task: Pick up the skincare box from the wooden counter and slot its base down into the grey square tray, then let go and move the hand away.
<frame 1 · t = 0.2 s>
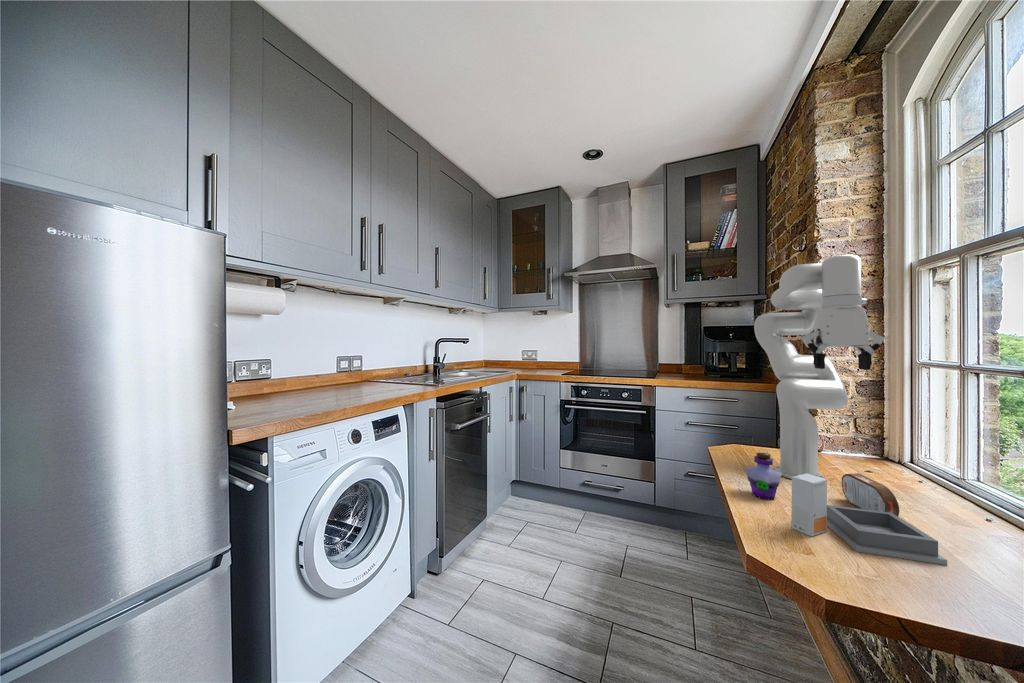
hand: (841, 369, 90), 36 cm above the table, tool pointing down, fingers open, 9 cm apart
grey square tray: (875, 539, 75), on the table
potion bottle: (763, 496, 97), on the table
skincare box: (809, 531, 79), on the table
tin: (867, 512, 89), on the table
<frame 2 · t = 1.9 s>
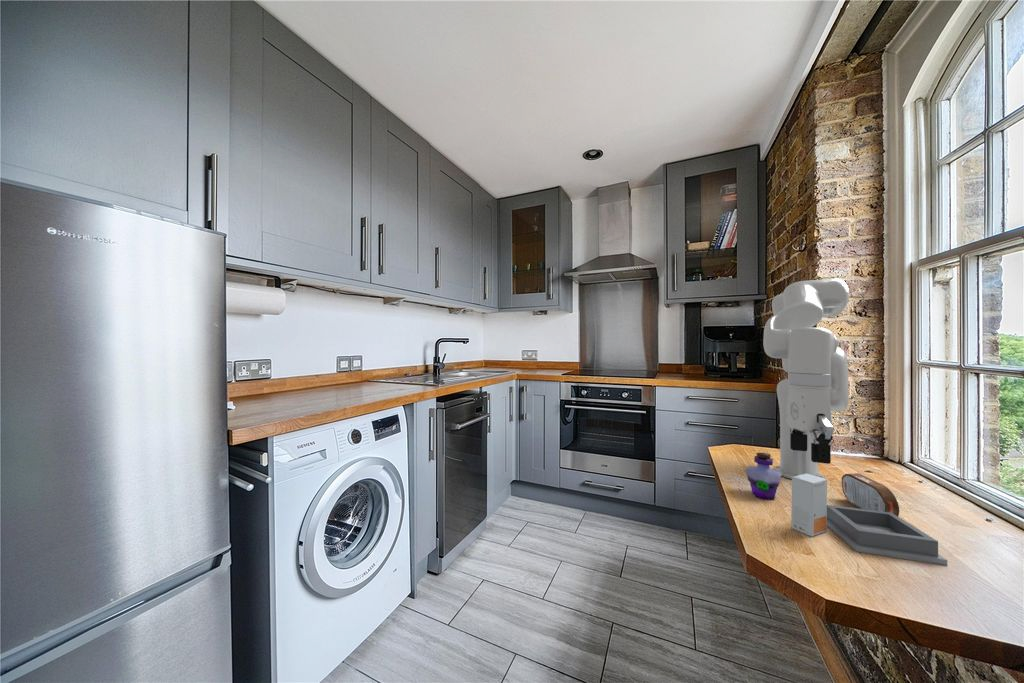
hand: (809, 456, 79), 17 cm above the table, tool pointing down, fingers open, 9 cm apart
nothing on the table moved.
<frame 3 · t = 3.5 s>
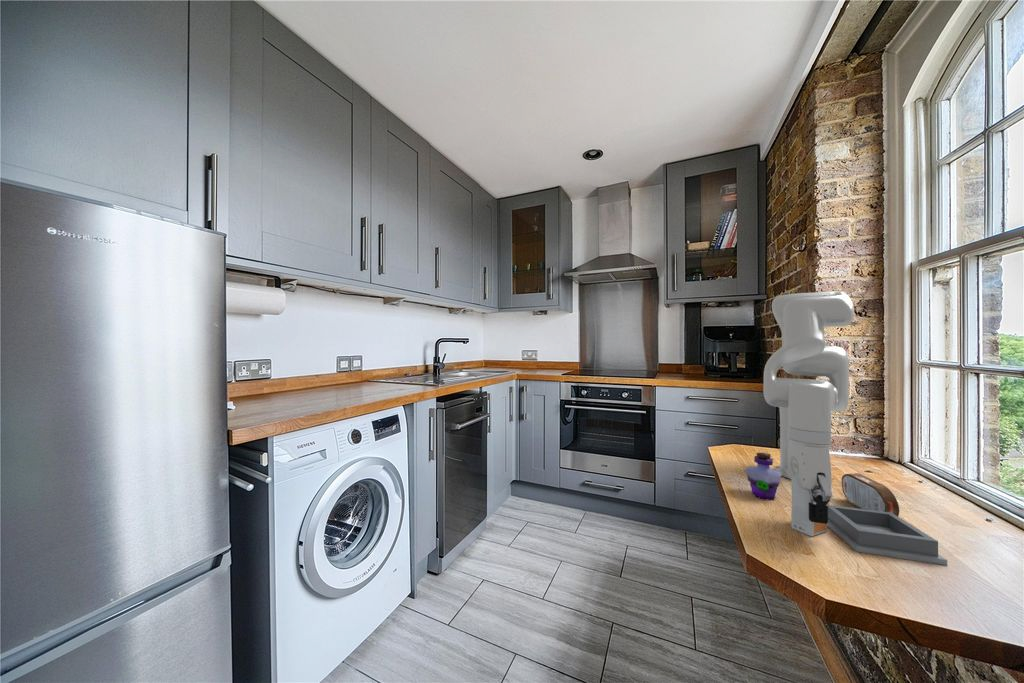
hand: (809, 513, 79), 4 cm above the table, tool pointing down, fingers closed on skincare box, 6 cm apart
skincare box: (809, 531, 79), on the table, touching gripper
everything else where it was.
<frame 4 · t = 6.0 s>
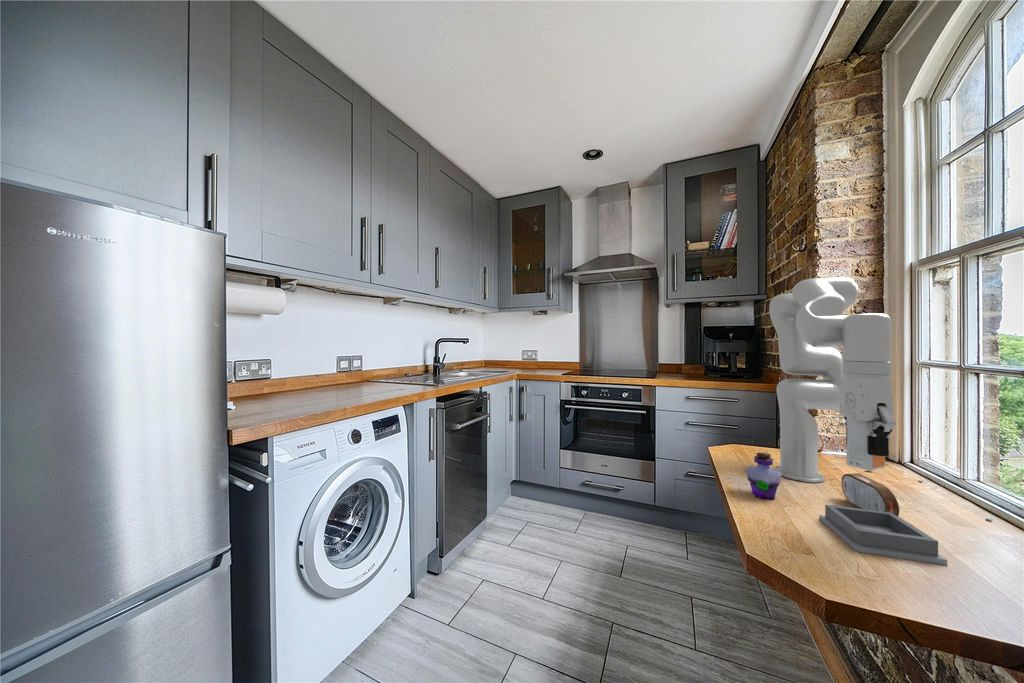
hand: (866, 449, 76), 19 cm above the table, tool pointing down, fingers closed on skincare box, 6 cm apart
skincare box: (866, 467, 76), point 15 cm above the table, touching gripper
everything else where it was.
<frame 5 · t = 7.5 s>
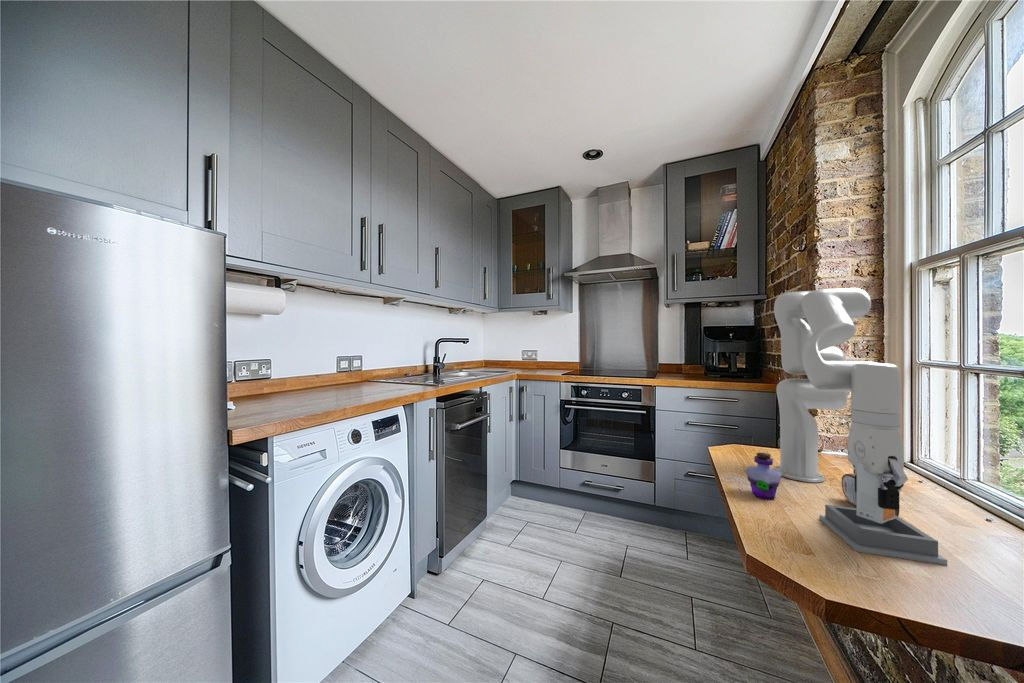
hand: (875, 500, 76), 9 cm above the table, tool pointing down, fingers closed on skincare box, 6 cm apart
skincare box: (875, 518, 76), point 5 cm above the table, touching gripper
everything else where it was.
when the fingers open (6 cm above the table, at t = 8.6 s): skincare box stays where it is, resting on grey square tray.
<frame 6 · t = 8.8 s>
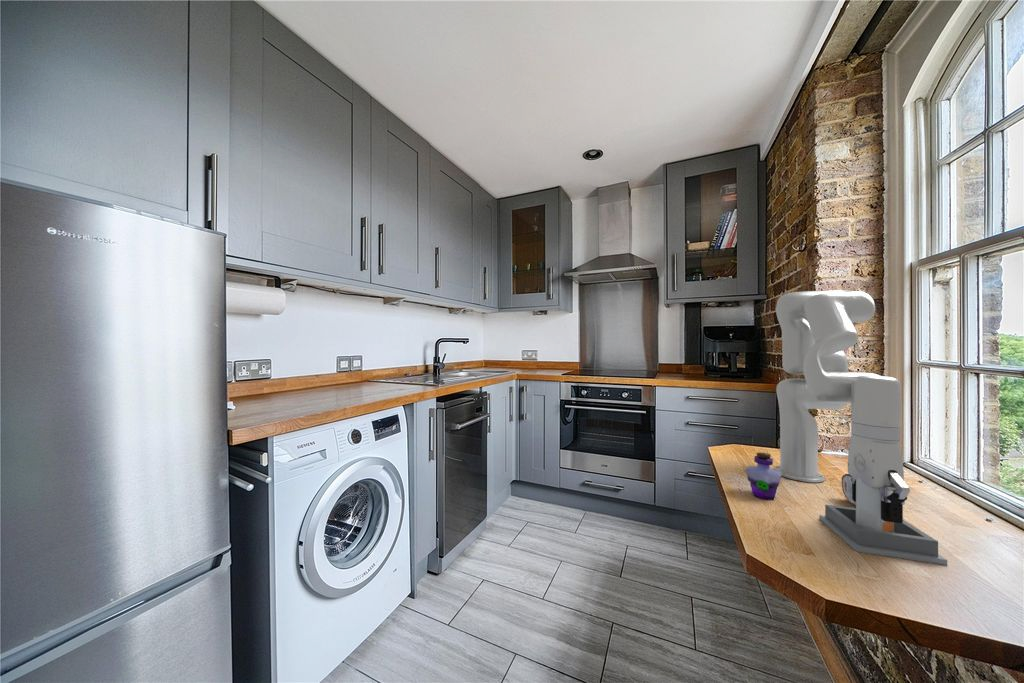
hand: (875, 511, 76), 6 cm above the table, tool pointing down, fingers open, 9 cm apart
skincare box: (875, 535, 76), point 1 cm above the table, touching grey square tray
everything else where it was.
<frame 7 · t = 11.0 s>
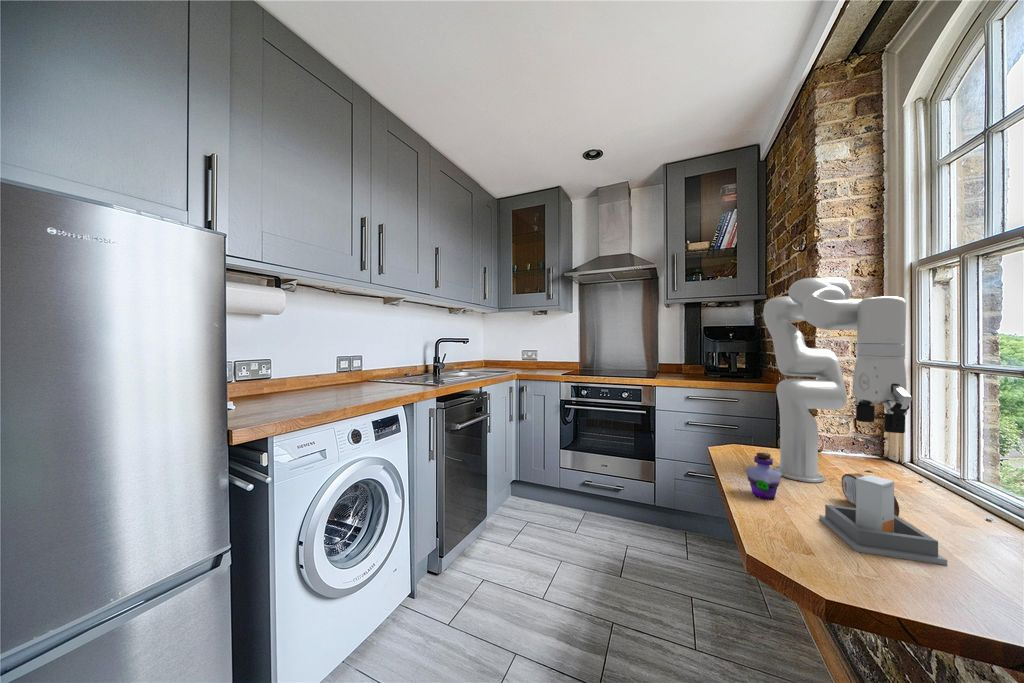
hand: (878, 426, 79), 24 cm above the table, tool pointing down, fingers open, 9 cm apart
nothing on the table moved.
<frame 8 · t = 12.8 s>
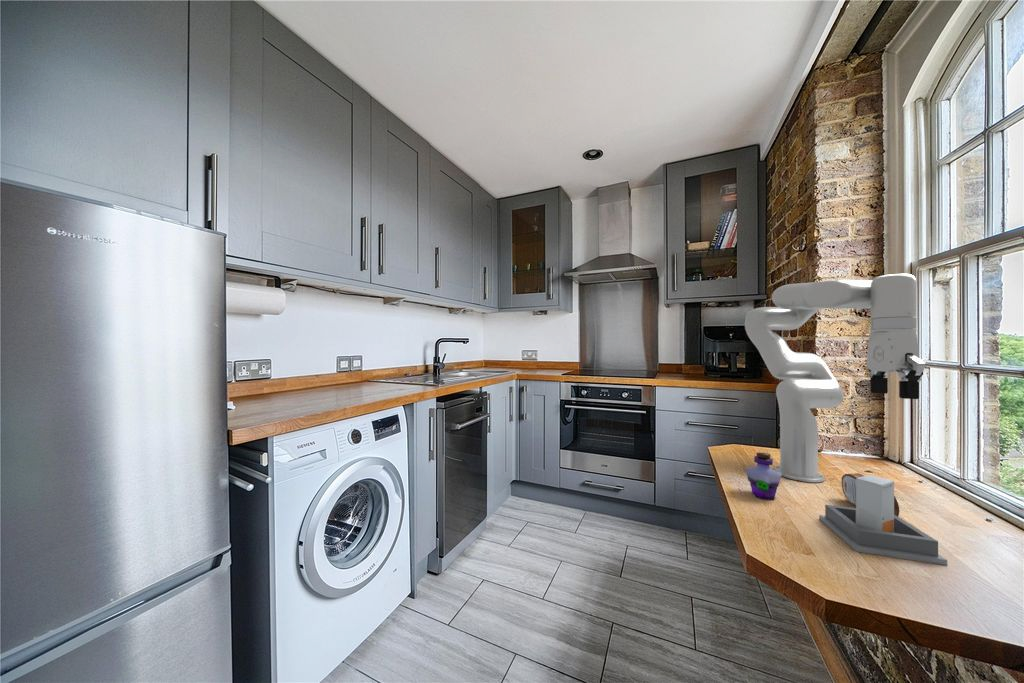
hand: (893, 395, 84), 30 cm above the table, tool pointing down, fingers open, 9 cm apart
nothing on the table moved.
at the end: skincare box 0.3 cm off-centre on the grey square tray, point 0.8 cm above the grey square tray's base; skincare box tilted 0°; the gripper is holding nothing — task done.
